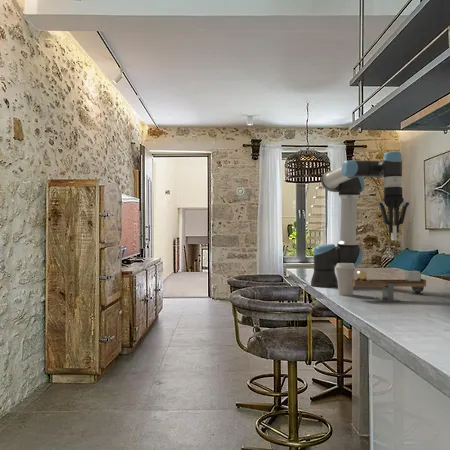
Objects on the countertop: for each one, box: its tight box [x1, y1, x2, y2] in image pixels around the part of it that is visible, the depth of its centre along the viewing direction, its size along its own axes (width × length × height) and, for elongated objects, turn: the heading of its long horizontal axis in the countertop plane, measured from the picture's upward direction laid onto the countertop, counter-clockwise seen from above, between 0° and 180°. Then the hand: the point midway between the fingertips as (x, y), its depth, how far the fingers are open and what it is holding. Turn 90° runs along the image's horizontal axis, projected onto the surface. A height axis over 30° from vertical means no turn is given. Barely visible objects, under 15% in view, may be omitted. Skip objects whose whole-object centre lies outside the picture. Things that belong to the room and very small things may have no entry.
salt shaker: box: [410, 269, 425, 296], centre depth 199 cm, size 6×6×12 cm
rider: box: [404, 270, 421, 281], centre depth 180 cm, size 5×5×5 cm
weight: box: [356, 270, 368, 281], centre depth 182 cm, size 4×4×5 cm
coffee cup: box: [335, 263, 357, 297], centre depth 198 cm, size 10×10×15 cm
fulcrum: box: [375, 283, 401, 303], centre depth 180 cm, size 9×8×8 cm
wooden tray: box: [351, 278, 427, 288], centre depth 180 cm, size 7×30×3 cm, turn 85°
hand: (393, 240), depth 181 cm, fingers closed
